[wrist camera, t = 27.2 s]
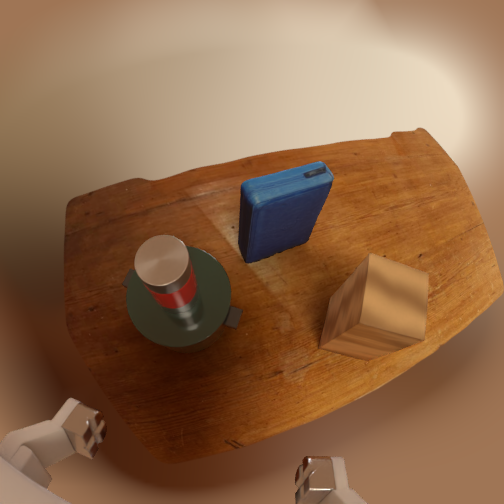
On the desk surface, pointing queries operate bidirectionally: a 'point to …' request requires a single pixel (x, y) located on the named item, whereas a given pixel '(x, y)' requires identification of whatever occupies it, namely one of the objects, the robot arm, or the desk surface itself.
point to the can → (167, 273)
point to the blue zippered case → (281, 209)
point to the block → (377, 310)
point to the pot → (192, 321)
